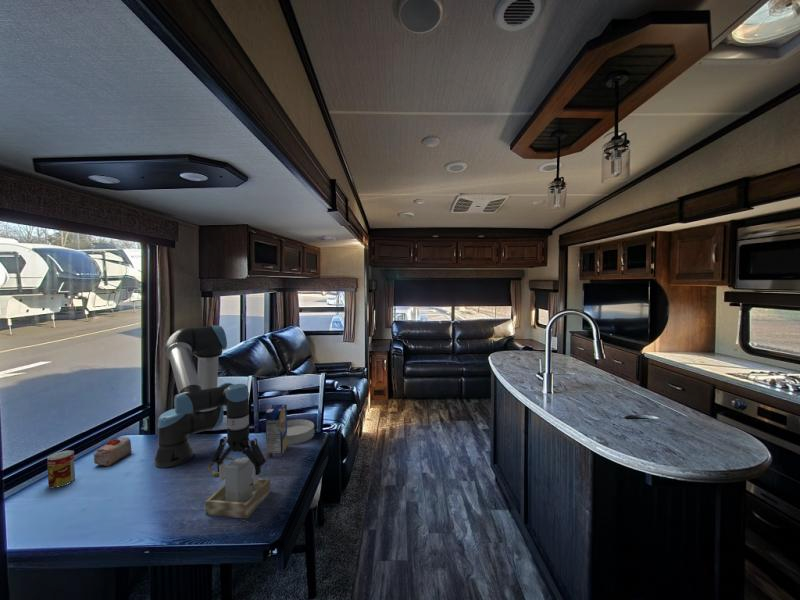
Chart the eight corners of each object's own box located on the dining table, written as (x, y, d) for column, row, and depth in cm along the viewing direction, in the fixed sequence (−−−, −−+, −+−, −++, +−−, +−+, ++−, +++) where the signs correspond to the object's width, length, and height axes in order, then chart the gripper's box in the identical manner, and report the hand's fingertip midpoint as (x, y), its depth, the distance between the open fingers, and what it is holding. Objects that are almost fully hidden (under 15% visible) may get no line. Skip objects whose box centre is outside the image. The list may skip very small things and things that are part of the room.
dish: (281, 427, 198) (281, 418, 198) (319, 427, 198) (319, 419, 197) (265, 445, 176) (265, 435, 176) (307, 445, 176) (307, 436, 175)
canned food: (48, 483, 142) (47, 455, 141) (74, 475, 148) (73, 448, 147) (48, 490, 137) (47, 461, 136) (75, 482, 142) (74, 454, 142)
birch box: (205, 514, 122) (205, 501, 122) (233, 488, 138) (232, 476, 138) (247, 518, 120) (247, 504, 120) (270, 491, 136) (270, 479, 136)
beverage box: (266, 457, 162) (265, 412, 162) (273, 447, 173) (272, 404, 172) (281, 457, 163) (280, 412, 162) (287, 446, 174) (286, 404, 173)
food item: (109, 467, 154) (108, 446, 154) (92, 467, 154) (91, 446, 154) (133, 453, 168) (133, 433, 167) (118, 453, 168) (117, 433, 167)
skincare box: (238, 508, 124) (237, 468, 123) (224, 505, 126) (223, 466, 125) (253, 495, 132) (252, 457, 132) (240, 492, 134) (239, 455, 133)
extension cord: (197, 479, 146) (197, 474, 146) (216, 460, 161) (215, 456, 161) (226, 478, 146) (226, 473, 146) (242, 459, 162) (242, 455, 162)
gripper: (200, 428, 126) (202, 484, 126) (264, 432, 122) (265, 489, 123) (214, 420, 133) (215, 473, 134) (274, 424, 130) (275, 478, 131)
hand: (239, 481), depth 129 cm, fingers open, 13 cm apart
